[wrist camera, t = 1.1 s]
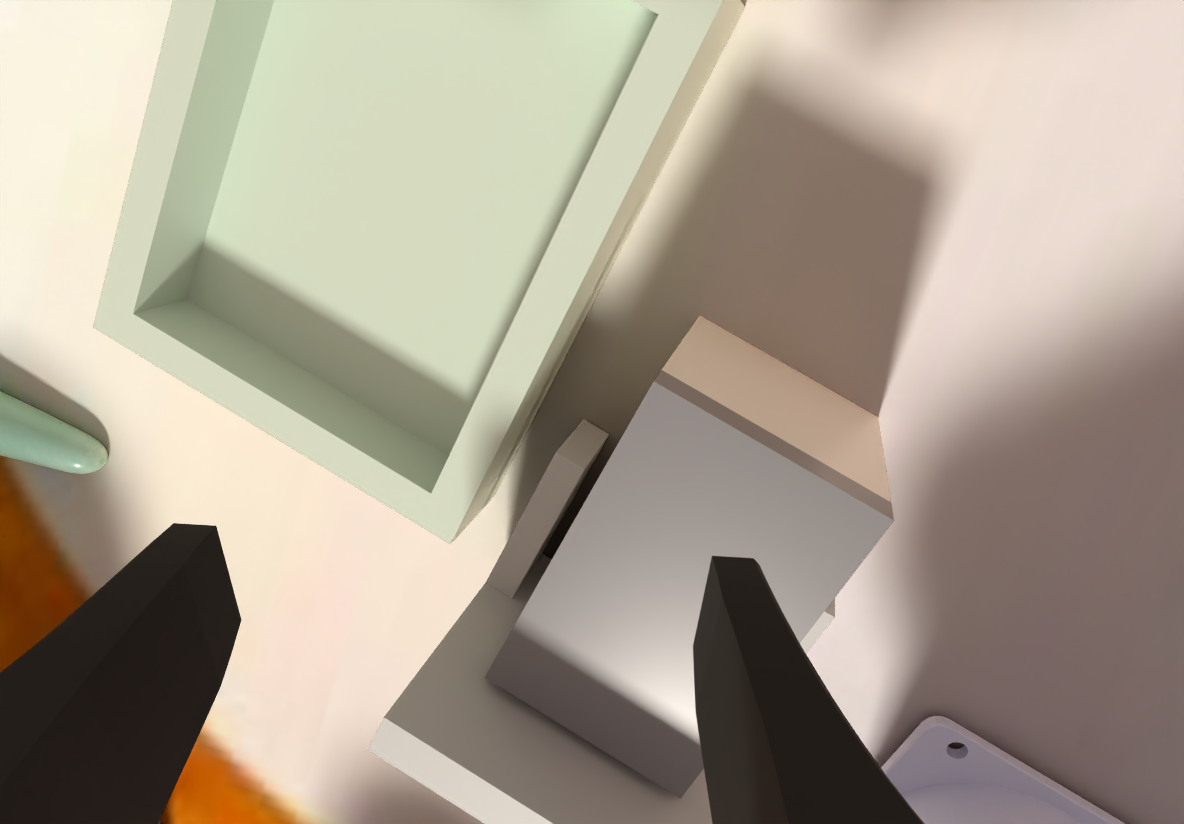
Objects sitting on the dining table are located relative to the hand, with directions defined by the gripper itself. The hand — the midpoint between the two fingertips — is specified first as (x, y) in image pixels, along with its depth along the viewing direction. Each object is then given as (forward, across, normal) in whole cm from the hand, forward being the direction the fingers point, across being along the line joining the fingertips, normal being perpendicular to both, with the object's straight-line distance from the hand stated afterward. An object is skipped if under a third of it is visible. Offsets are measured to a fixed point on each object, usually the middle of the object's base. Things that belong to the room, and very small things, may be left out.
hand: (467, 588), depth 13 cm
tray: (+12, +3, -1) cm, 13 cm away
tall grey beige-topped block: (+8, -5, +5) cm, 11 cm away
